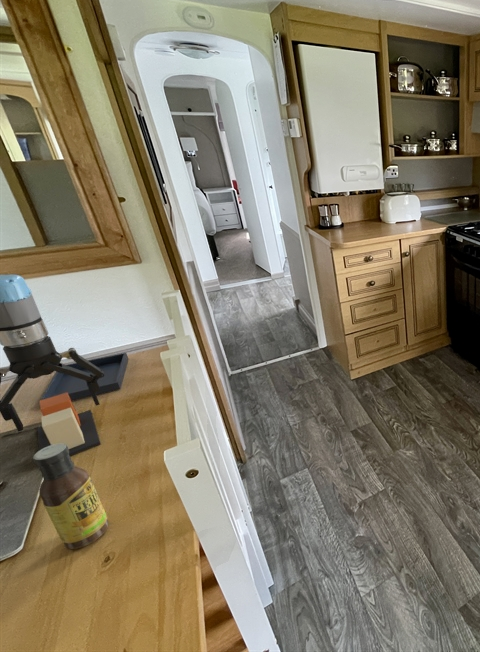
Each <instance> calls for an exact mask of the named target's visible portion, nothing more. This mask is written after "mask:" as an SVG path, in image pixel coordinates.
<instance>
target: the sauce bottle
mask: <svg viewBox="0 0 480 652" xmlns="http://www.w3.org/2000/svg"><path fill="white" fill-rule="evenodd" d="M32 460H33V462H34V464H35V466H37V467H38V469H39V471H40V473H41V477H42V478H43V479H42V482H41V483H40V486H39V491H38V493H39V497H40V498H41V500H42V504H43V506H44V508H45V510H46V512H47V514H48V516H49V518H50V520H51V523H52V525H53V527H54V529H55V531H56V533H57V535H58V537H59V539H60V541H61V542H62V543H63V544H64V546H65V548H66V549H69V550H78V549H80V548H84V547H87V546H88V545H90V544H92V543H94V542H96V541H97V540H98V539H99V538H101V536H103V535H104V534H105V533H106V532H107V530H108V527H109V520H108V515H107V513H106V511H105V508H104V506H103V504H102V502H101V500H100V497H99V495H98V492H97V490H96V487H95V484H94V482H93V480H92V478H91V476H90V475H89V473H88V471H87V470H86V469H84V468H82V467H80V466H76V465H75V463H74V462H73V460H72V458H71V456H70V455H69V449H68V447H67V445H66V444H62V443H61V444H54V445H50V446H48V447H45V448H43V449H41V450H40V451H39V450H38V451H36V453H34V455H33V457H32Z"/></svg>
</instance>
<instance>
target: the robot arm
mask: <svg viewBox="0 0 480 652" xmlns="http://www.w3.org/2000/svg"><path fill="white" fill-rule="evenodd" d="M0 345H1V346H3V347H2V350H3V352H4V354H5V357H6V358H7V360H8V362H9V365H7V366H1V367H0V385H1V384H2V378H5V377H6V376H7V374H8V373H9V372H10V373H13V374H15V375H16V376H15V379H14V380H13V381H12V383H11V384H10V386H9V387H8V389H7V390H6V391H5V393H4V394H3V395H2V396H1V398H0V415H1V417H2V418H3V421H6V422H7V421H11V420H12V422H13V424H14V426H15V428H16V430H17V431H18V432H22V431H24V424H23V422H22V420H21V418H20V416H19V414H18V412H17V411H16V410H17V409H15V407H14V405H13V403H12V400H13V398H14V397H15V396H16V394H17V393H18V392H19V391H20V389H21V387H22V386H23V385H24V384H25V383H26V381H27V380H28V379H32V380H33V379H38V378H40V377H42V376H43V377H44V376H49V375H52V374H53V373H54V372H55V373H56V372H59V373H64V374H67V375H70V376H73V377H76V378H79V379H82V380H85V381H86V383H87V386H88V388H89V391H90V393H91V395H92V397H91V398H92V401H93V402H94V405H95V407H97V406H100V405H101V404H100V401H99V399H98V395H96V394H95V393H96V392H99V391H100V387H99V385H98V383H97V380H98V379H99V378H102V377H104V372H103V370H101V369H100V368H98V367H97V366H95V365H93V364H92V363H90V362H89V361H87V360H88V359H86V358H85V357H83V356H81V354H79V353H78V352H77V350H76V348H74V347H70V348H68V350H65V351H63V352H58V351H57V349H56V347H55V345H54V342H53V341H52V338H51V336H49V331H48V329H47V326H46V324H45V322H44V320H43V317H42V316H41V313H40V311H39V308H38V305H37V303H36V301H35V298H34V296H33V293H32V290H31V289H30V287H29V286H28V283H27V282H26V280H25V278H24V277H23V276H21V275H19V274H0ZM64 358H65V359H67V360H72V361H73V362H74V363H78V364H79V365H81V366H82V367H84V368H85V369H87V370H89V371H90V372H92V373H93V375H92V374H90V373H87V372H84V371H81V370H78V369H75V368H72V367H69V366H66V365H67V364H64V363H62V362H61V361H62V359H64Z"/></svg>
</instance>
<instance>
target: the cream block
mask: <svg viewBox="0 0 480 652" xmlns="http://www.w3.org/2000/svg"><path fill="white" fill-rule="evenodd" d="M40 421H41V426H42V428H43V430H44V432H45V434H46V436H47V438H48V440H49V442H50V444H51V445H54V444H61V443H62V444H66V445H67V447H68V449H70V448H73V447H76V446H78V445H81V444H84V443H85V442H84V438H83V433H82V431H81V429H80V427H79V424H78V422H77V420H76V418H75V416H74V413H73V411H72V409H71V408H67V409H64V410H61V411H58V412H55V413H52V414H49V415H46V416H43V415H42V416H41V417H40Z"/></svg>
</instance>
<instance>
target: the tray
mask: <svg viewBox="0 0 480 652" xmlns="http://www.w3.org/2000/svg"><path fill="white" fill-rule="evenodd" d="M86 360H87V361H89V362H90V363H92V364H93V365H95V366H97V367H98V368H100V369H101V370H103V372H104V377H102V378H99V379H98V380H97V383H98V385H99V387H100V391H99V392H96V393H95V394H96V396H99V395H104V394H107V393H113V392H116V391H119V390H121V389H122V386H123V381H124V378H125V375H126V370H127V367H128V363H129V355H128V353H127V352H123V353H116V354H112V355H107V356H103V357H97V358H93V359H92V358H91V359H86ZM65 365H66V366H69V367H72V368H75V369H78V370H81V371H84V372H87V373H90V374H92V375H93V373H92V372H90V371H89V370H87V369H85V368H84V367H82V366H81V365H79V364H78V363H76V362H72V363H68V364H65ZM67 392H68V394H69V397H70V399H71V401H72V402H75V401H80V400H83V399H86V398H87V399H88V398H92V395H91V393H90V391H89V388H88V386H87V383H86V381H85V380H82V379H79V378H76V377H73V376H70V375H67V374H64V373H59V372H56V371H55V373H54V375H53V377H52V378H51V380H50V382H49V384H48V385H47V387H46V389H45V391H44V392H43V394H42V396H41V398H40V399H39V401H41V400H44V399H47V398H50V397H54V396H57V395H60V394H63V393H67Z"/></svg>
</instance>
